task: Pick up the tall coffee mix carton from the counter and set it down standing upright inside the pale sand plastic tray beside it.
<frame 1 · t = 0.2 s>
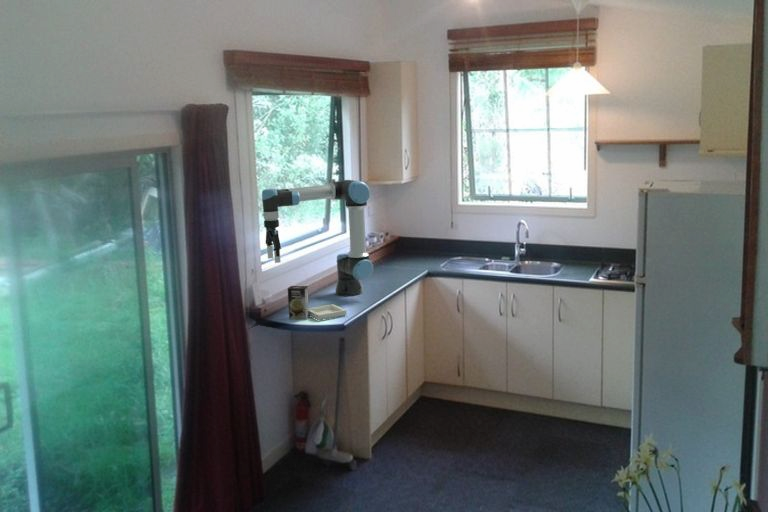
hand: (274, 260, 382), 28 cm above the counter, tool pointing down, fingers open, 13 cm apart
coffee box: (299, 318, 375), on the counter
tray: (326, 315, 378), on the counter
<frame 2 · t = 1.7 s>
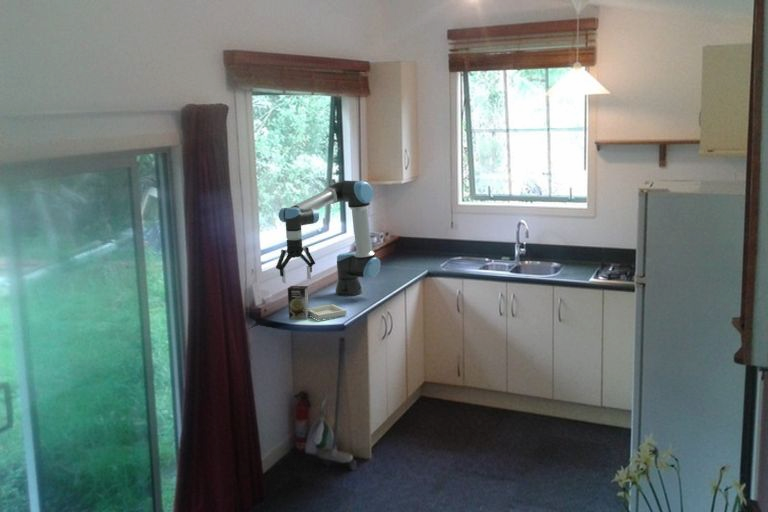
hand: (296, 280, 371), 19 cm above the counter, tool pointing down, fingers open, 13 cm apart
nothing on the counter moved.
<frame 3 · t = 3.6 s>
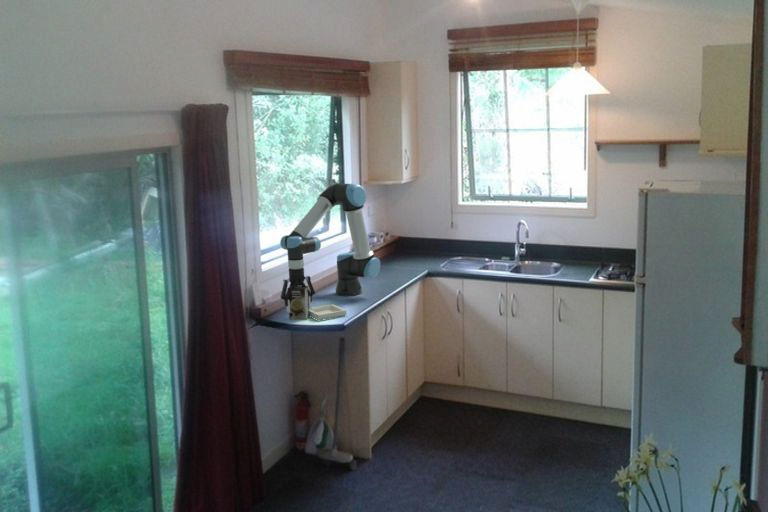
hand: (299, 310, 375), 4 cm above the counter, tool pointing down, fingers closed on coffee box, 10 cm apart
coffee box: (299, 318, 375), on the counter, touching gripper
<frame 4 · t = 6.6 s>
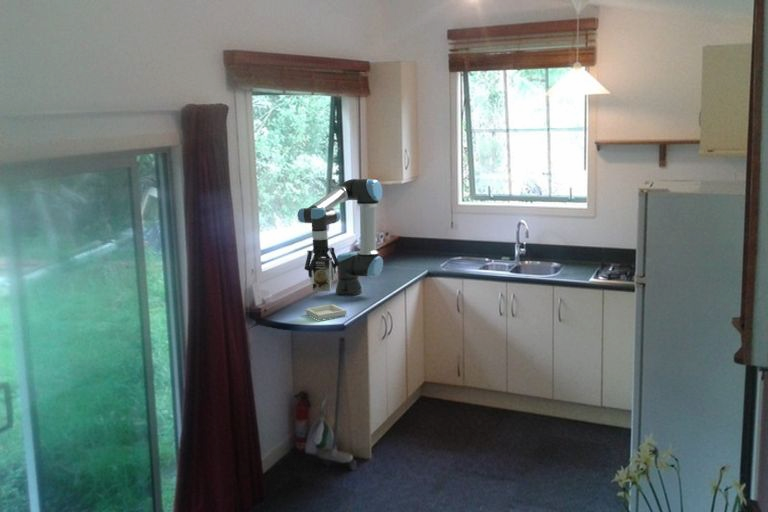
hand: (322, 281, 375), 18 cm above the counter, tool pointing down, fingers closed on coffee box, 11 cm apart
coffee box: (322, 289, 376), point 13 cm above the counter, touching gripper
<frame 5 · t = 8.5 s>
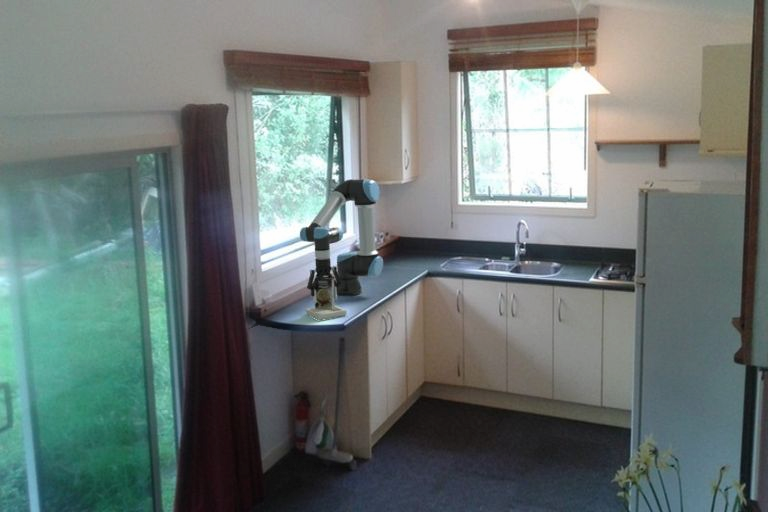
hand: (325, 300, 377), 8 cm above the counter, tool pointing down, fingers closed on coffee box, 11 cm apart
coffee box: (325, 308, 377), point 3 cm above the counter, touching gripper
when the fingers open (6 cm above the counter, at t = 9.9 s): coffee box drops 1 cm, resting on tray.
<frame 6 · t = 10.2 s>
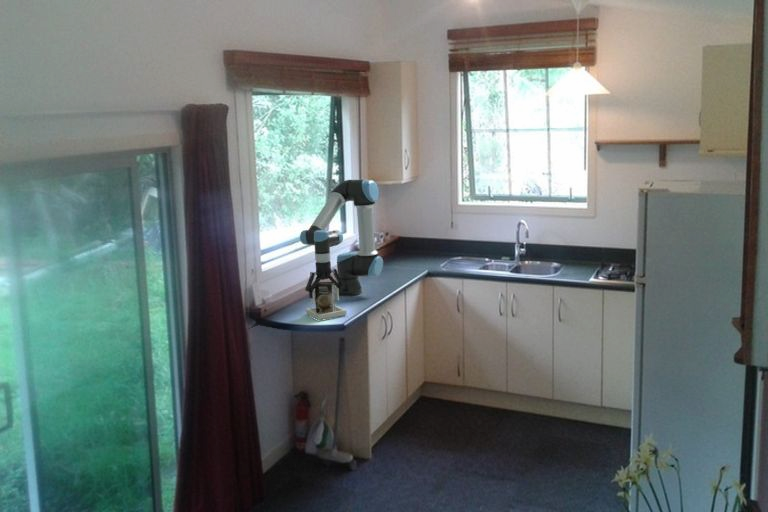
hand: (325, 302, 377), 7 cm above the counter, tool pointing down, fingers open, 13 cm apart
coffee box: (326, 314, 378), point 1 cm above the counter, touching tray
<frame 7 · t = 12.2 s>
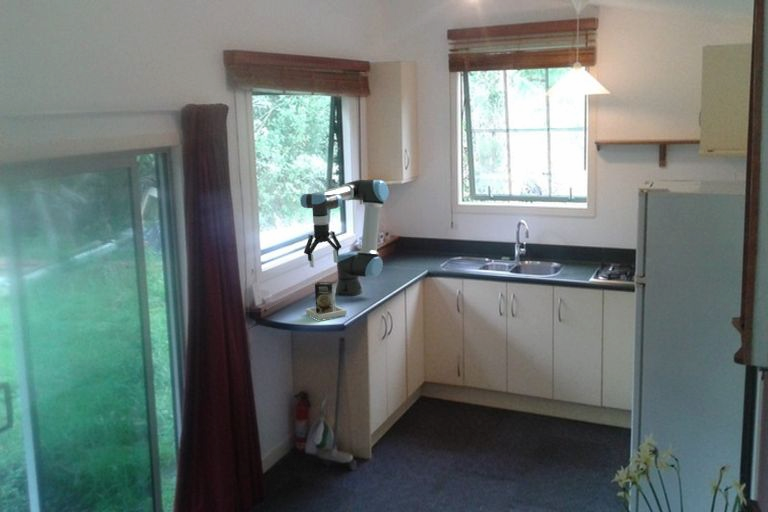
hand: (324, 264, 379), 25 cm above the counter, tool pointing down, fingers open, 13 cm apart
nothing on the counter moved.
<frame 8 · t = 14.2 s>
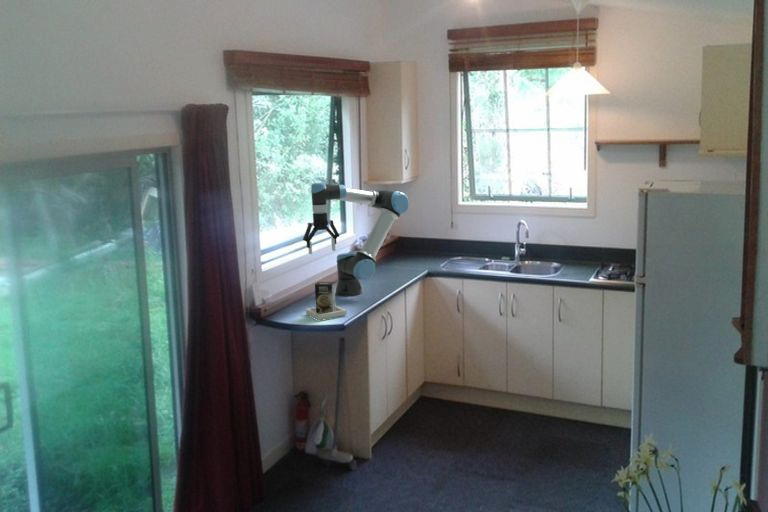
hand: (322, 252, 394), 29 cm above the counter, tool pointing down, fingers open, 13 cm apart
nothing on the counter moved.
at the end: coffee box inside the target area on the tray (0.2 cm from its centre), point 0.6 cm above the tray's base; coffee box tilted 0°; the gripper is holding nothing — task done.
